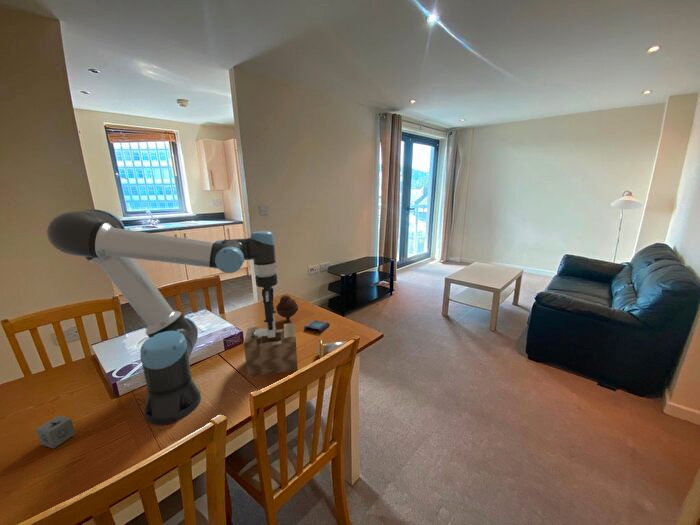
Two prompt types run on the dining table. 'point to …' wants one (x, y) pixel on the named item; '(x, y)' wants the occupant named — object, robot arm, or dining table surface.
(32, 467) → the dining table surface
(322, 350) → the pin
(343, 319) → the dining table surface
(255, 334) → the clip tab
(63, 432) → the grey toy block
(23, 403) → the dining table surface
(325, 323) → the blue flat box
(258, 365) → the hitch block
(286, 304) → the ice cream bowl
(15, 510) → the dining table surface
